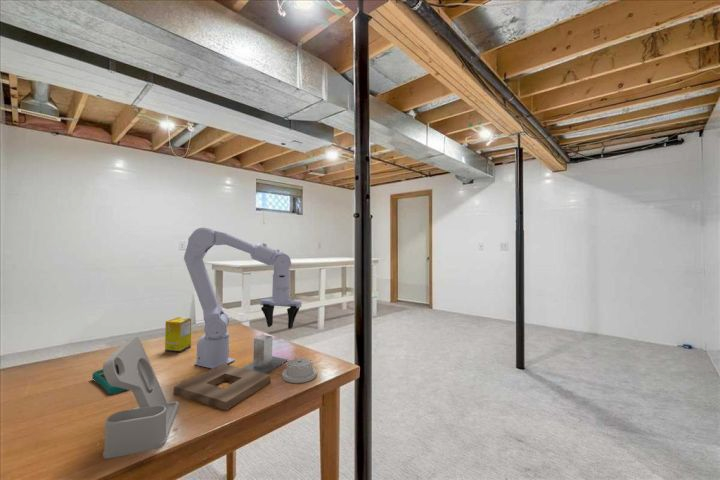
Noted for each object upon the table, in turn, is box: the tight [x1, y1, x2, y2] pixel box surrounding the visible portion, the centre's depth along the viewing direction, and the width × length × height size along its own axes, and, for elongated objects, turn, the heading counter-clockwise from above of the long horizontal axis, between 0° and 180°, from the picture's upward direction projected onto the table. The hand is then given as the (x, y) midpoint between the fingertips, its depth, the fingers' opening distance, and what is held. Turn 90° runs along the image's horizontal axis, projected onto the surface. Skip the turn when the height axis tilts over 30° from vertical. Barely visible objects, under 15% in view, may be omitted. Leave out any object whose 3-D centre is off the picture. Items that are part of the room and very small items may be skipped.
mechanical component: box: [282, 357, 317, 384], centre depth 91 cm, size 10×4×10 cm
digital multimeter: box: [92, 368, 128, 395], centre depth 85 cm, size 7×15×3 cm, turn 56°
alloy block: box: [252, 334, 273, 369], centre depth 97 cm, size 4×4×9 cm
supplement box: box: [164, 316, 192, 354], centre depth 110 cm, size 6×6×11 cm
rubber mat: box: [242, 355, 289, 374], centre depth 98 cm, size 9×14×1 cm, turn 157°
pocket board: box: [173, 364, 271, 411], centre depth 83 cm, size 18×16×2 cm
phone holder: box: [102, 336, 180, 459], centre depth 65 cm, size 17×10×18 cm, turn 22°
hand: (280, 327), depth 105 cm, fingers open, 7 cm apart
